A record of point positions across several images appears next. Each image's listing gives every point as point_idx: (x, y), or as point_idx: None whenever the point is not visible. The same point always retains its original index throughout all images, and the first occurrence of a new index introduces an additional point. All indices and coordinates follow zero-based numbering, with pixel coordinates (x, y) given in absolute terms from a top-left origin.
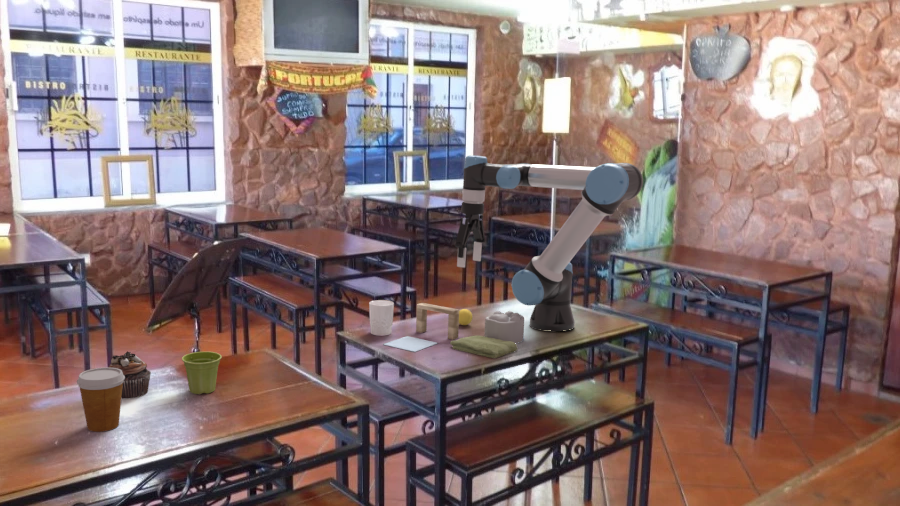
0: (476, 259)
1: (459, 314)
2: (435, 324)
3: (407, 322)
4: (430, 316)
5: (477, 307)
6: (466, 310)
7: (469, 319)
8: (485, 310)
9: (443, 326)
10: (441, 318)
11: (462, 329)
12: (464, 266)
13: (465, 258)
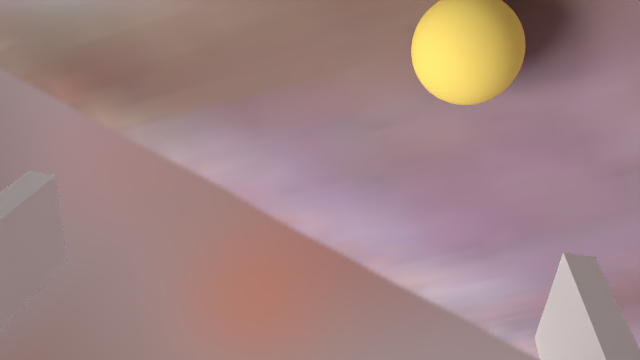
0: (52, 228)
1: (511, 80)
2: (505, 186)
3: (511, 311)
4: (347, 247)
5: (27, 76)
6: (486, 46)
7: (503, 2)
8: (59, 12)
9: (536, 137)
10: (363, 190)
11: (576, 13)
12: (594, 265)
13: (608, 339)
